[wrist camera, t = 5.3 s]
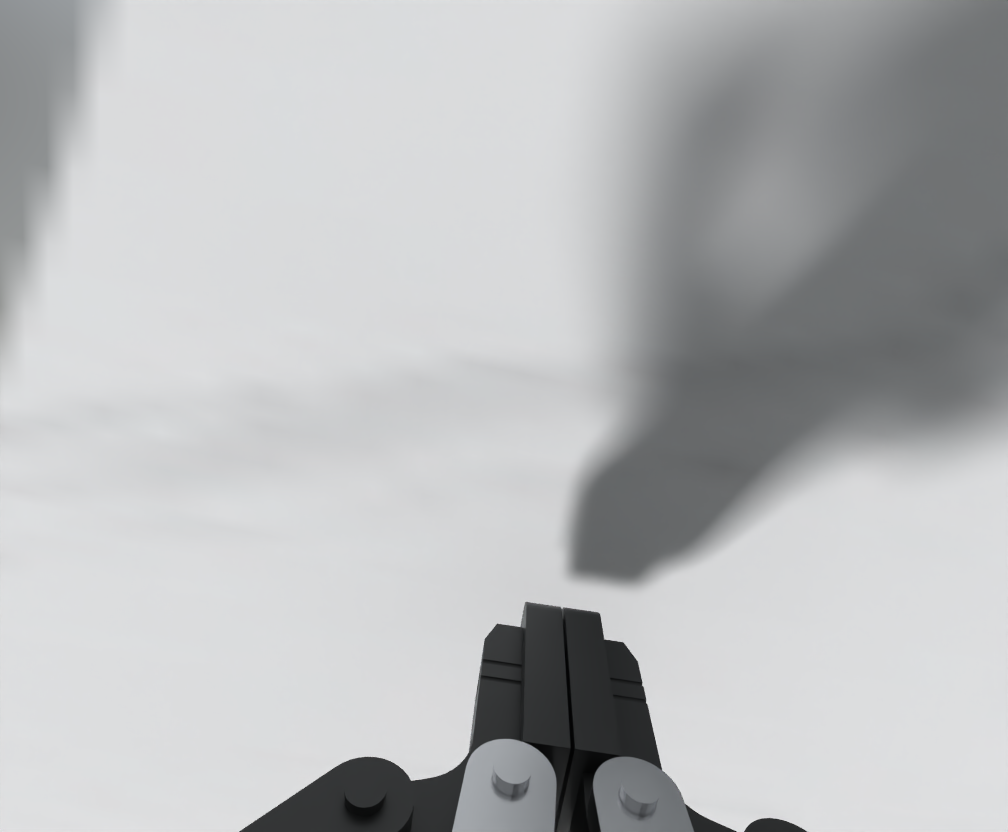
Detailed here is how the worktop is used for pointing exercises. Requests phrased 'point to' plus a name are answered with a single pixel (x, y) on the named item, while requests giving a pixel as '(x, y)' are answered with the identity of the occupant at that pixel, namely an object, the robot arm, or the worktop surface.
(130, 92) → the worktop surface
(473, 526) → the worktop surface
